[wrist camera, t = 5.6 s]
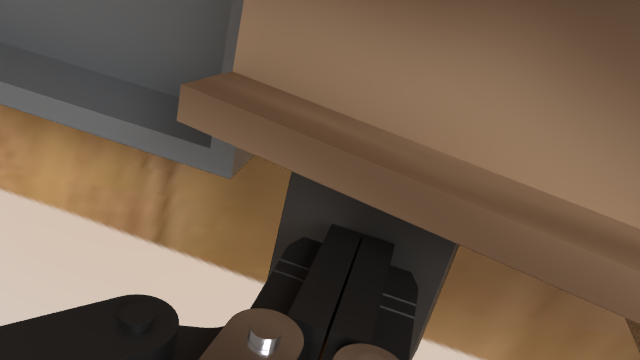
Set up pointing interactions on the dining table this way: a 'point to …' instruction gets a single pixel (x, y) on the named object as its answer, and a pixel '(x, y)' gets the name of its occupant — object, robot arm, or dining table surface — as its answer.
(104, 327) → the robot arm
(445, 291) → the dining table surface
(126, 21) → the bin
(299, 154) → the lever
